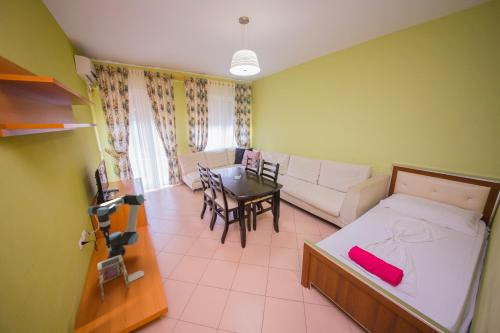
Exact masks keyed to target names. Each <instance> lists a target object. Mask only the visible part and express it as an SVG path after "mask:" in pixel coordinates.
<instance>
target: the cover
mask: <svg viewBox="0 0 500 333" xmlns="http://www.w3.org/2000/svg"><path fill="white" fill-rule="evenodd" d="M122 261H123V262H124V259H123V255H118V256H115V257H113V258H108V259H104V260H103V261H100V262H98V263H97V272H98V271H100V272H101V271H102V270H103V269H105V268H107V267H110V266H112V265H115V264H117V263H119V264H121V262H122Z"/></svg>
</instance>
